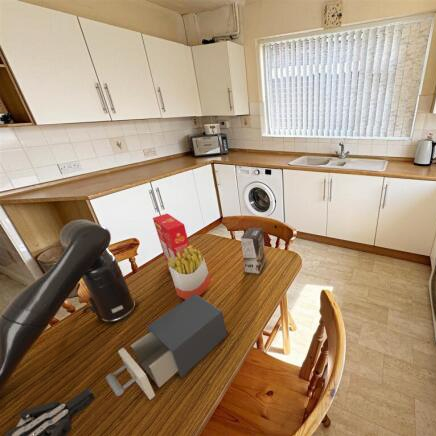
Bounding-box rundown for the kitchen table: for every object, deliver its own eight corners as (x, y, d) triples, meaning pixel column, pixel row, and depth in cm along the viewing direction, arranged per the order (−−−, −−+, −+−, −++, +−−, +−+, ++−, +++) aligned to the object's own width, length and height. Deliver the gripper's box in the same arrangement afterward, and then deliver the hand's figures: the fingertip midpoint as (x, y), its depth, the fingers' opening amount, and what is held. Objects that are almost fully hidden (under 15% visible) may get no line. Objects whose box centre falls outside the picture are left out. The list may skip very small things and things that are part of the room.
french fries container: (212, 286, 90) (203, 245, 82) (187, 305, 81) (174, 262, 74) (204, 282, 92) (194, 242, 84) (179, 300, 83) (166, 257, 76)
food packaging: (198, 281, 92) (184, 224, 82) (185, 288, 89) (168, 229, 78) (182, 266, 102) (167, 213, 91) (169, 272, 98) (152, 217, 88)
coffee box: (259, 274, 96) (255, 239, 89) (244, 272, 97) (239, 237, 90) (266, 260, 104) (263, 228, 97) (252, 259, 105) (248, 227, 98)
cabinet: (181, 377, 59) (172, 351, 55) (156, 350, 66) (146, 326, 62) (227, 335, 70) (222, 311, 66) (201, 316, 77) (195, 293, 73)
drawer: (130, 418, 51) (118, 396, 48) (109, 386, 57) (97, 365, 54) (201, 354, 64) (195, 333, 61) (177, 333, 70) (171, 314, 67)
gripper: (-32, 471, 41) (88, 384, 54) (-24, 544, 34) (111, 424, 47) (-60, 450, 38) (74, 363, 51) (-58, 525, 31) (97, 402, 44)
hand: (92, 393), depth 49 cm, fingers closed
